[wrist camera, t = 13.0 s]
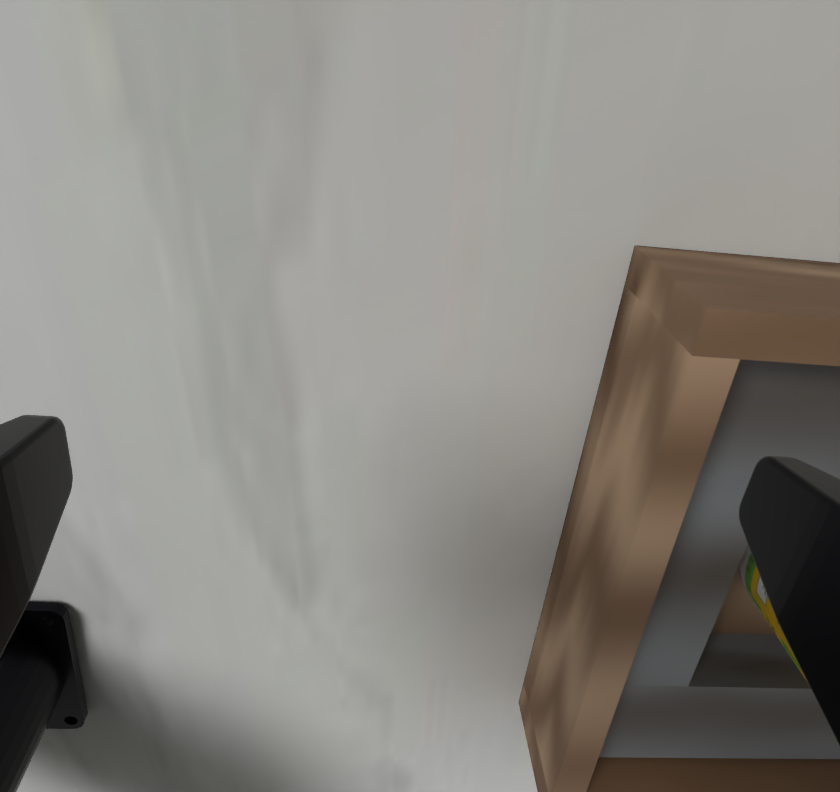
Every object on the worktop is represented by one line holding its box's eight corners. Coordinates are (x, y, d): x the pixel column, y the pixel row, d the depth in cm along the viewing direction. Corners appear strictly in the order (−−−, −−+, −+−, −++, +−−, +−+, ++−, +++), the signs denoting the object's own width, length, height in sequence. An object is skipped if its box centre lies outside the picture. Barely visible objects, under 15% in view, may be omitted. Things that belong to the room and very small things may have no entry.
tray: (906, 708, 31) (992, 820, 27) (518, 702, 30) (544, 820, 25) (1178, 292, 22) (1378, 360, 18) (634, 245, 20) (707, 308, 16)
